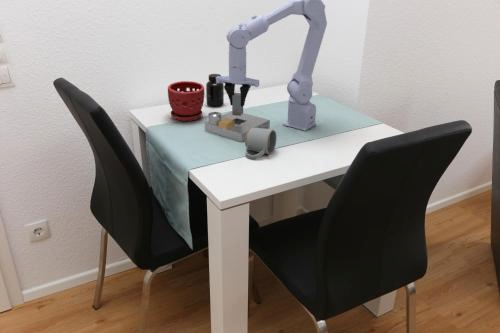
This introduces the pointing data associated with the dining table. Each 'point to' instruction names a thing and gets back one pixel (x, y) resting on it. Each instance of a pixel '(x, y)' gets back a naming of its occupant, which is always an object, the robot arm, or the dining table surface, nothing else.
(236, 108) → the metal block
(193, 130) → the dining table surface
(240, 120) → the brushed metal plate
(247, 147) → the ceramic mug
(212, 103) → the supplement bottle
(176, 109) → the plant pot
